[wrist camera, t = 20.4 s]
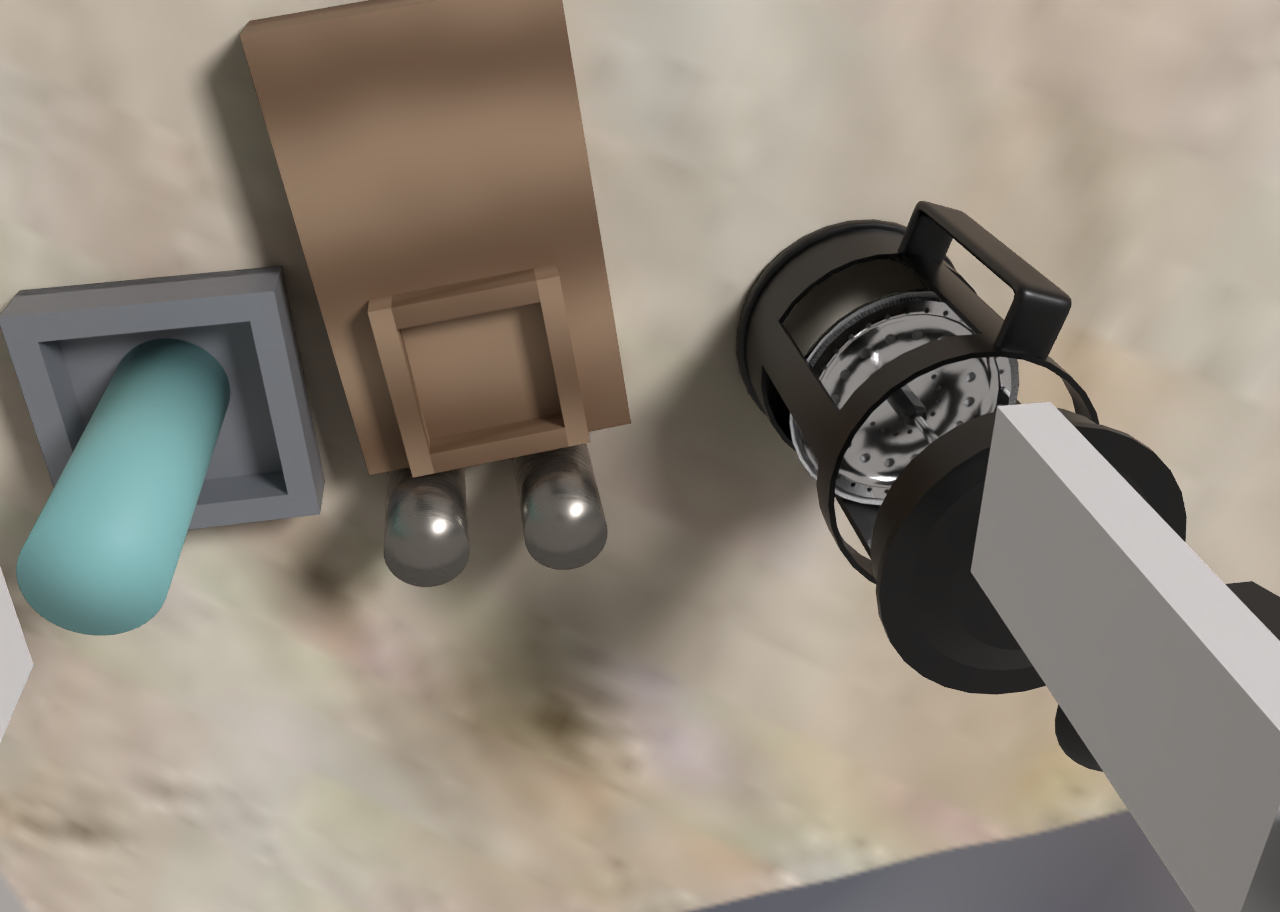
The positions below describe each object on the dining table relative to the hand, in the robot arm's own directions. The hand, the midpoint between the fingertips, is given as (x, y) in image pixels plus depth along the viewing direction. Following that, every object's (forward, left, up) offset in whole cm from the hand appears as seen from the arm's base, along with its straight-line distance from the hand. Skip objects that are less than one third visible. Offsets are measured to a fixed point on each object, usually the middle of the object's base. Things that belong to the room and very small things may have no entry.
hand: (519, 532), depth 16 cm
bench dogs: (+15, -1, -29) cm, 33 cm away
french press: (+11, +14, -29) cm, 34 cm away
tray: (+11, -12, -29) cm, 33 cm away
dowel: (+10, -12, -29) cm, 32 cm away
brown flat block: (+5, -1, -30) cm, 30 cm away
